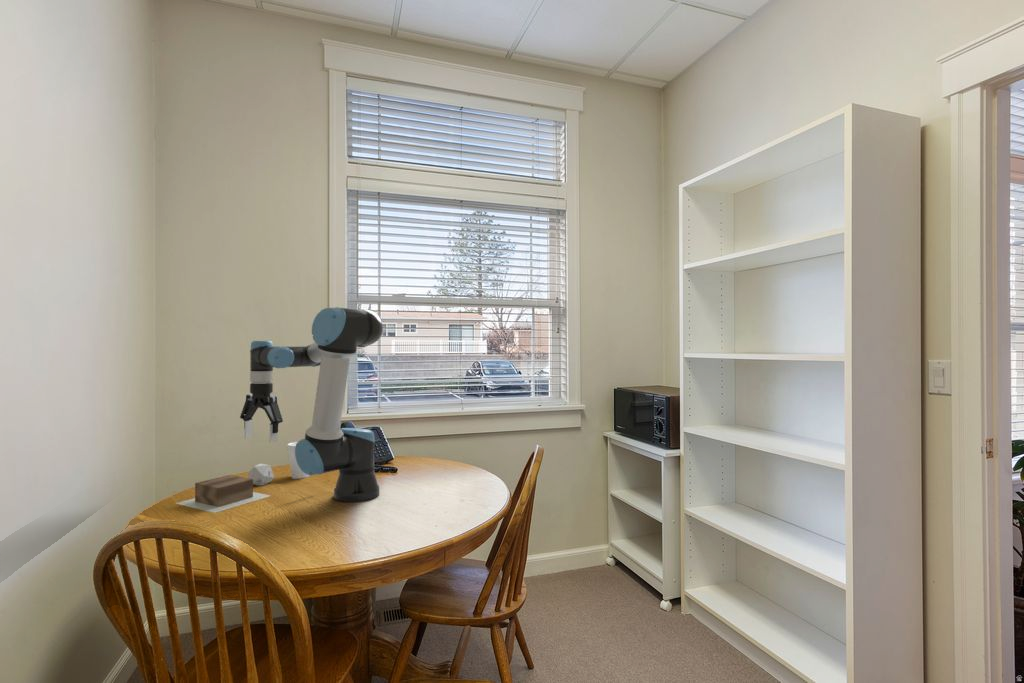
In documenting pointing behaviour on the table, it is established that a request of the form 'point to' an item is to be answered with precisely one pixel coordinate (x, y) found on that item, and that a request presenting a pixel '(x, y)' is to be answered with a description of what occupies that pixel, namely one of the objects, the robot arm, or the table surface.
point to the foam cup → (294, 463)
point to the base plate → (216, 509)
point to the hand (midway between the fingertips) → (260, 440)
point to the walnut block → (223, 490)
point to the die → (261, 474)
